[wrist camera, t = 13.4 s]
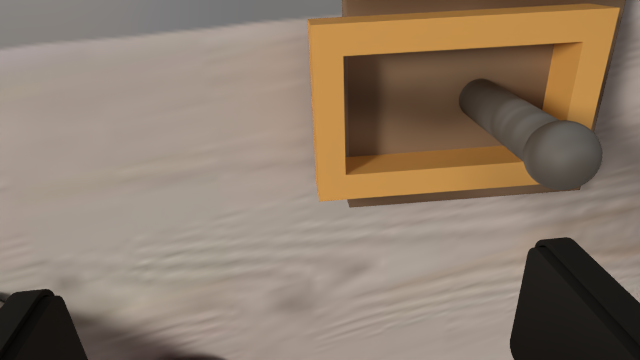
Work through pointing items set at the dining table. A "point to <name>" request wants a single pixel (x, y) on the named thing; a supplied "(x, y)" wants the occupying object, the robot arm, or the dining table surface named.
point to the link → (447, 34)
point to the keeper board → (431, 92)
